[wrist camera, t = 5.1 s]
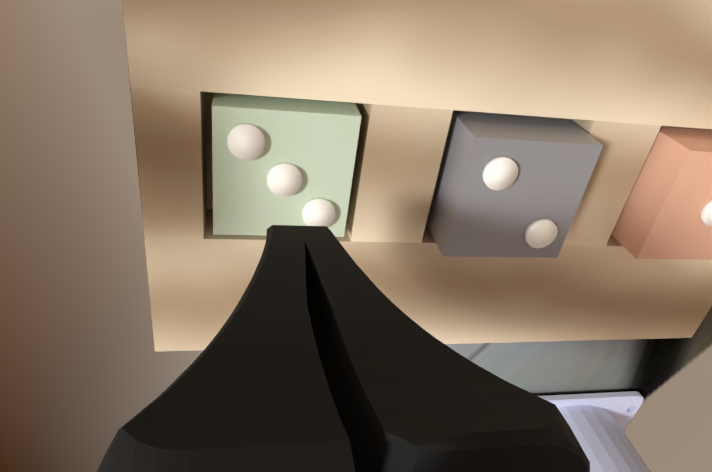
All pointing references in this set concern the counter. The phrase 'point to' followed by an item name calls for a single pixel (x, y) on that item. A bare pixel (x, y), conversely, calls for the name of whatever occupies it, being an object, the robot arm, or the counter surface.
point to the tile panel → (423, 150)
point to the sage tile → (281, 162)
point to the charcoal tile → (509, 185)
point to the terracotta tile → (671, 199)
